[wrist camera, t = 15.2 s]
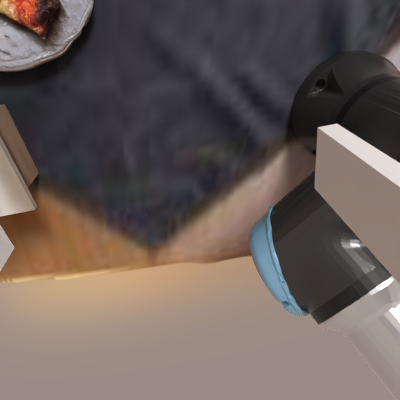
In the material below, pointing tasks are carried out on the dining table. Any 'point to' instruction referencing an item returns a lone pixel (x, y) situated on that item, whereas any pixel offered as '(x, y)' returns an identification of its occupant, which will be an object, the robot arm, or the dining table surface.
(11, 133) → the white box
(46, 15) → the food plate
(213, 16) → the dining table surface
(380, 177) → the robot arm
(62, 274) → the dining table surface
